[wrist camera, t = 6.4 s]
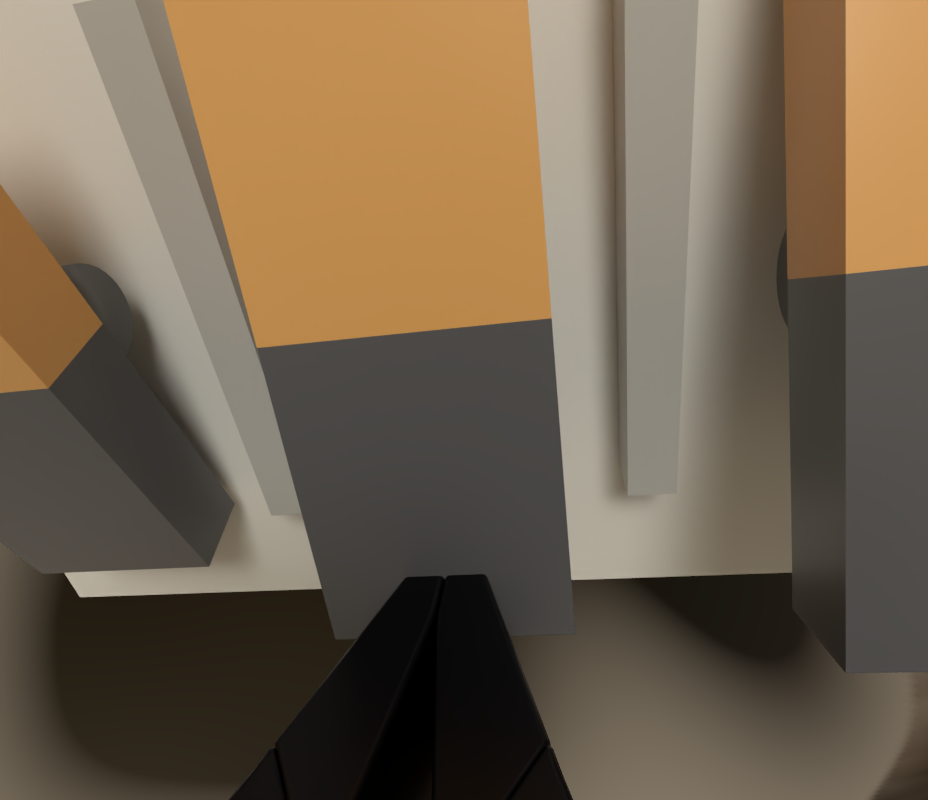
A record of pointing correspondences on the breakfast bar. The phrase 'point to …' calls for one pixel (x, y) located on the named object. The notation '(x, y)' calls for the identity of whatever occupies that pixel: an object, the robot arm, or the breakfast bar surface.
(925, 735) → the breakfast bar surface
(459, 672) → the robot arm
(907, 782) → the breakfast bar surface
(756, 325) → the switch box
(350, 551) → the block
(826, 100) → the rocker
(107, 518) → the block
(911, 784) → the breakfast bar surface
